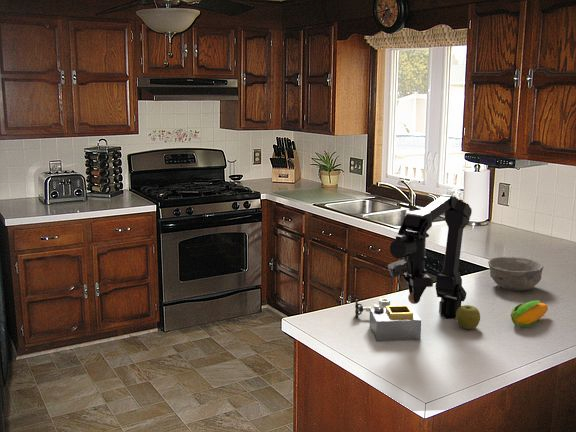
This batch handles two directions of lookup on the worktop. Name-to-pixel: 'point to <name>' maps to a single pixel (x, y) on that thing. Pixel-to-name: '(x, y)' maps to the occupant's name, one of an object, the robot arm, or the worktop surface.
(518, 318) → the corn
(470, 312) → the apple
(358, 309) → the valve
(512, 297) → the worktop surface
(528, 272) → the bowl
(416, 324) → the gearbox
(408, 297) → the bead
